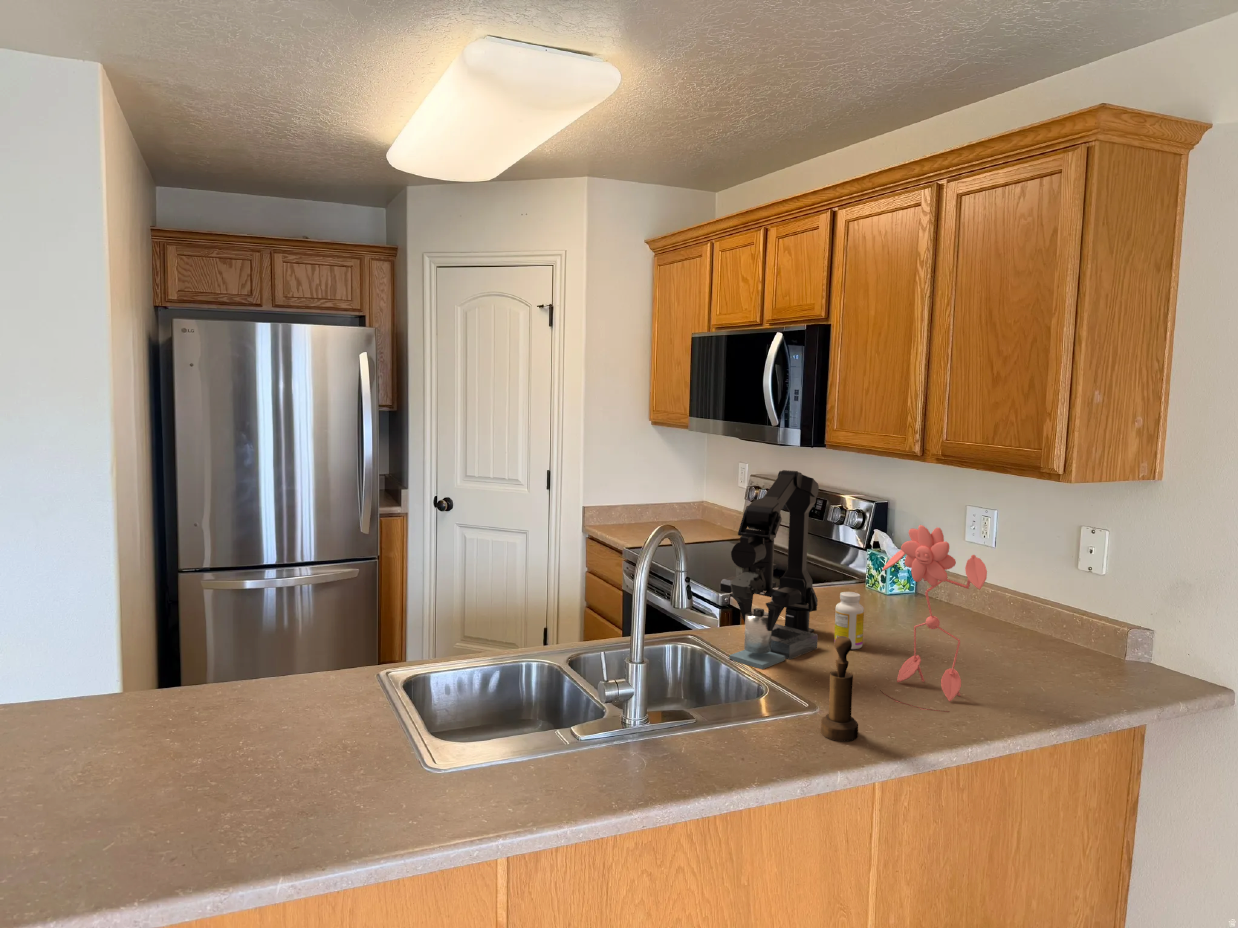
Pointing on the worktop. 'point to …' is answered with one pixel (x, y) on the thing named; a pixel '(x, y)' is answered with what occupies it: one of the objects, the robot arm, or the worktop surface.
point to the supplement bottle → (850, 619)
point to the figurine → (930, 564)
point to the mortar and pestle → (840, 698)
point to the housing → (792, 641)
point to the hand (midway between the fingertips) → (758, 627)
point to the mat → (757, 658)
